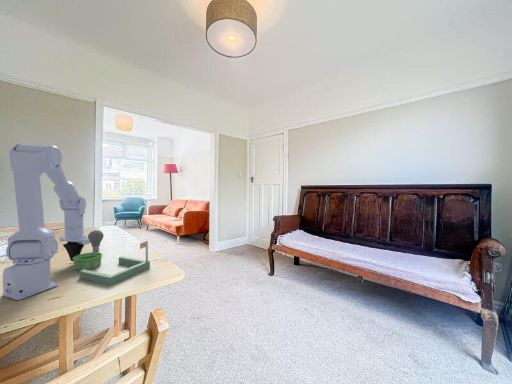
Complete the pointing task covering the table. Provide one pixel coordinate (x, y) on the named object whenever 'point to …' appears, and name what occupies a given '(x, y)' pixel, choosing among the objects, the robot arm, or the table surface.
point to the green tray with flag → (107, 279)
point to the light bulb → (95, 239)
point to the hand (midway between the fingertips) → (74, 260)
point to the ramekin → (87, 261)
